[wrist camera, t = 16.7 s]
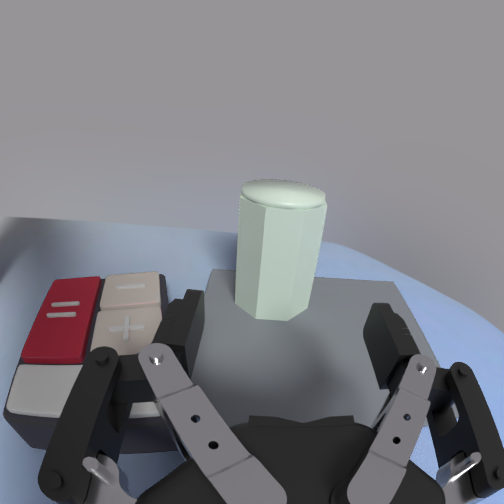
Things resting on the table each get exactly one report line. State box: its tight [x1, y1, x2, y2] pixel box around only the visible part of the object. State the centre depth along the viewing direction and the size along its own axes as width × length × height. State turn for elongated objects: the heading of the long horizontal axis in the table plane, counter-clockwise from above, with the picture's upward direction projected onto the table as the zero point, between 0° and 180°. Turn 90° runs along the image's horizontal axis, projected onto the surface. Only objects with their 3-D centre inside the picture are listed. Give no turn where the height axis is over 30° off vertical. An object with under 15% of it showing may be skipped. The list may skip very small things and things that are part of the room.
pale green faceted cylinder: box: [235, 179, 327, 321], centre depth 24 cm, size 6×6×10 cm
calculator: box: [3, 271, 178, 454], centre depth 17 cm, size 11×4×15 cm
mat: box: [191, 269, 459, 427], centre depth 22 cm, size 20×18×1 cm
